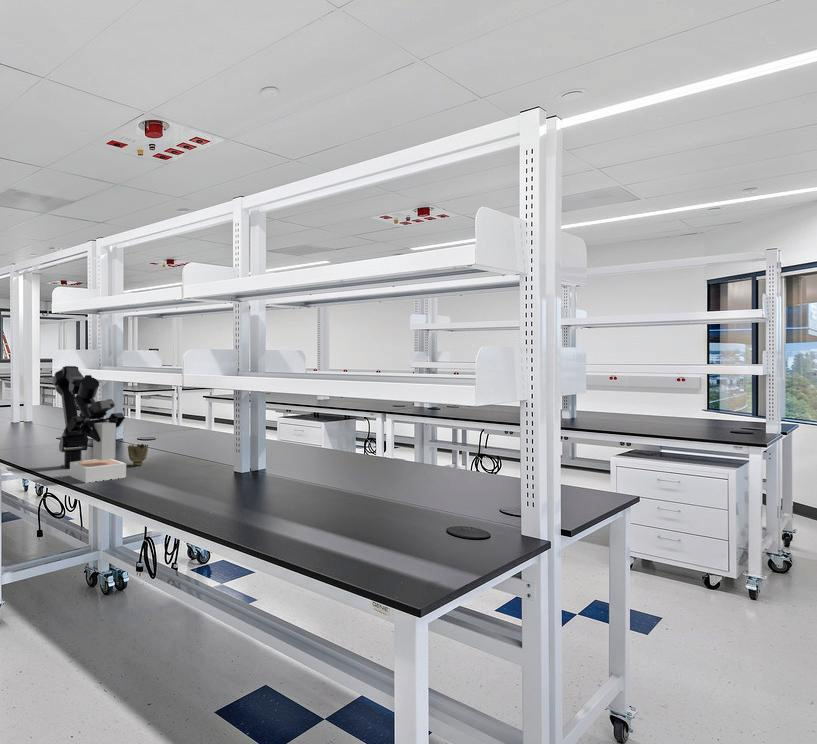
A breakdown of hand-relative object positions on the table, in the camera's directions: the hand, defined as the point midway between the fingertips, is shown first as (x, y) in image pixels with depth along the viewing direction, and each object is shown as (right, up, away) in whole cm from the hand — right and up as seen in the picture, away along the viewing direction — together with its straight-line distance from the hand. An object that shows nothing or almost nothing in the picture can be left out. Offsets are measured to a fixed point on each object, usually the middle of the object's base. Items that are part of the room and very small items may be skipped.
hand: (106, 440), depth 201 cm
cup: (-1, -13, +25) cm, 28 cm away
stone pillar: (-1, -7, +1) cm, 7 cm away
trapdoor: (-4, -13, +3) cm, 14 cm away
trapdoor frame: (-4, -13, +3) cm, 14 cm away
